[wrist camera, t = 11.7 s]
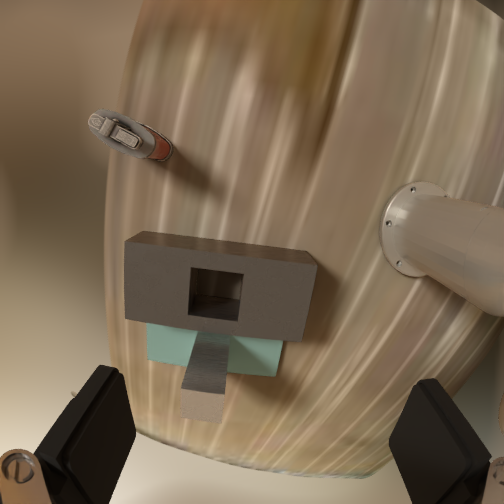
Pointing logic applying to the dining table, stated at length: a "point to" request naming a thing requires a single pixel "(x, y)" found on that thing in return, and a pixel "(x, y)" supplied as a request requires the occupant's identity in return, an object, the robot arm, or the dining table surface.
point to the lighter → (129, 136)
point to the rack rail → (216, 308)
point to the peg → (206, 378)
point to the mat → (240, 350)
